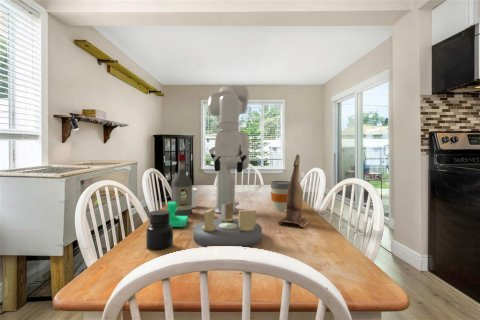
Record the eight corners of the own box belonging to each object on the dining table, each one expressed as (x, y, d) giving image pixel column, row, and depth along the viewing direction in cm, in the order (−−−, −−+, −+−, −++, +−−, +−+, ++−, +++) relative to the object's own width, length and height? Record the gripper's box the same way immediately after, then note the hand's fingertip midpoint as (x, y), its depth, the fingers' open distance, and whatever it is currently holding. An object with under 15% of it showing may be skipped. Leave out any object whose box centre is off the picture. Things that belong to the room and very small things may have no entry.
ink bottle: (178, 243, 107) (178, 210, 106) (166, 252, 99) (166, 216, 98) (153, 240, 109) (153, 208, 109) (140, 249, 101) (140, 214, 100)
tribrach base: (222, 224, 132) (222, 198, 132) (273, 235, 117) (274, 207, 117) (178, 239, 111) (179, 209, 110) (234, 255, 96) (235, 220, 96)
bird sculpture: (277, 226, 131) (279, 154, 128) (285, 219, 142) (287, 152, 139) (302, 230, 127) (305, 155, 124) (308, 223, 137) (311, 153, 134)
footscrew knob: (226, 218, 126) (226, 201, 125) (236, 220, 123) (236, 203, 123) (217, 221, 121) (218, 203, 120) (228, 223, 118) (228, 205, 118)
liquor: (170, 212, 153) (171, 153, 151) (188, 210, 156) (188, 153, 154) (174, 216, 144) (174, 154, 142) (192, 215, 148) (193, 154, 146)
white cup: (199, 205, 169) (199, 188, 168) (193, 208, 161) (193, 190, 161) (187, 204, 171) (187, 187, 171) (180, 207, 164) (180, 189, 163)
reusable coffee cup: (276, 205, 172) (277, 180, 171) (296, 209, 165) (297, 182, 164) (265, 209, 162) (266, 182, 161) (286, 213, 155) (287, 184, 154)
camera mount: (183, 229, 125) (183, 205, 124) (165, 228, 125) (165, 204, 124) (188, 221, 137) (188, 199, 136) (171, 221, 137) (171, 199, 136)
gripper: (204, 127, 116) (204, 171, 117) (245, 127, 108) (244, 173, 109) (214, 128, 122) (214, 169, 123) (253, 128, 115) (252, 172, 116)
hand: (228, 171), depth 116 cm, fingers open, 9 cm apart
